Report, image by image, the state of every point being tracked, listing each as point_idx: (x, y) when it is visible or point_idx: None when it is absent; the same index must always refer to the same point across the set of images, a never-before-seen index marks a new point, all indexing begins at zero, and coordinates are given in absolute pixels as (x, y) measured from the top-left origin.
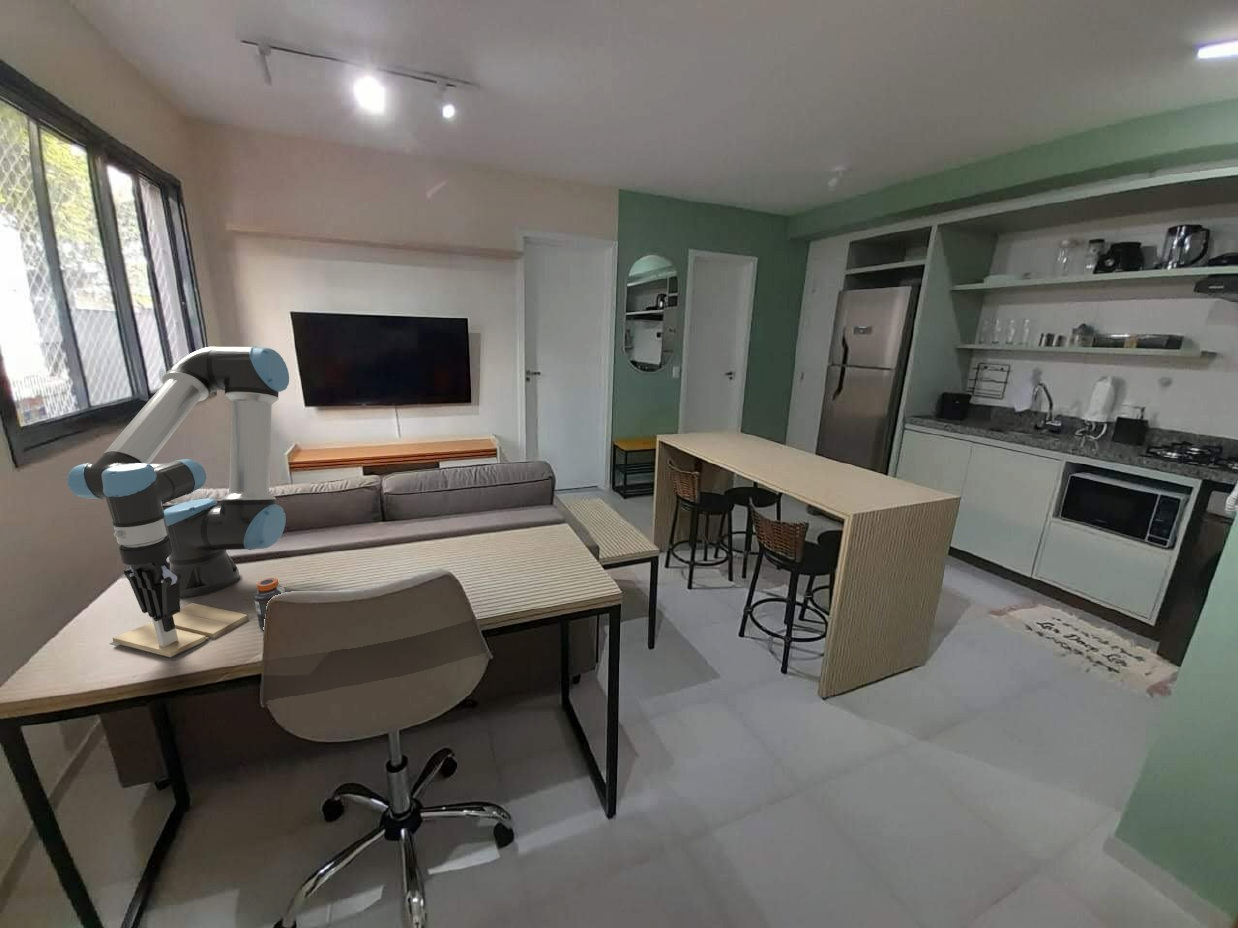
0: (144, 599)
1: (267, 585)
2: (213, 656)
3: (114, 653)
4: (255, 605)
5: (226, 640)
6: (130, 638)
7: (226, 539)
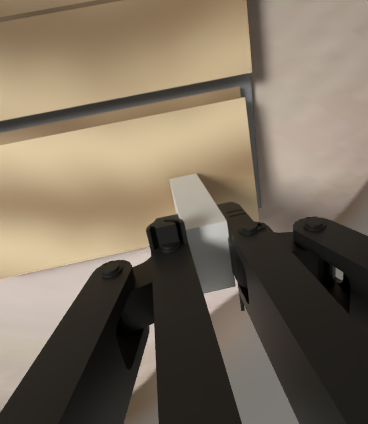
0: (122, 384)
1: None
2: (342, 132)
3: (37, 277)
4: None
5: (293, 52)
6: (26, 256)
7: None
